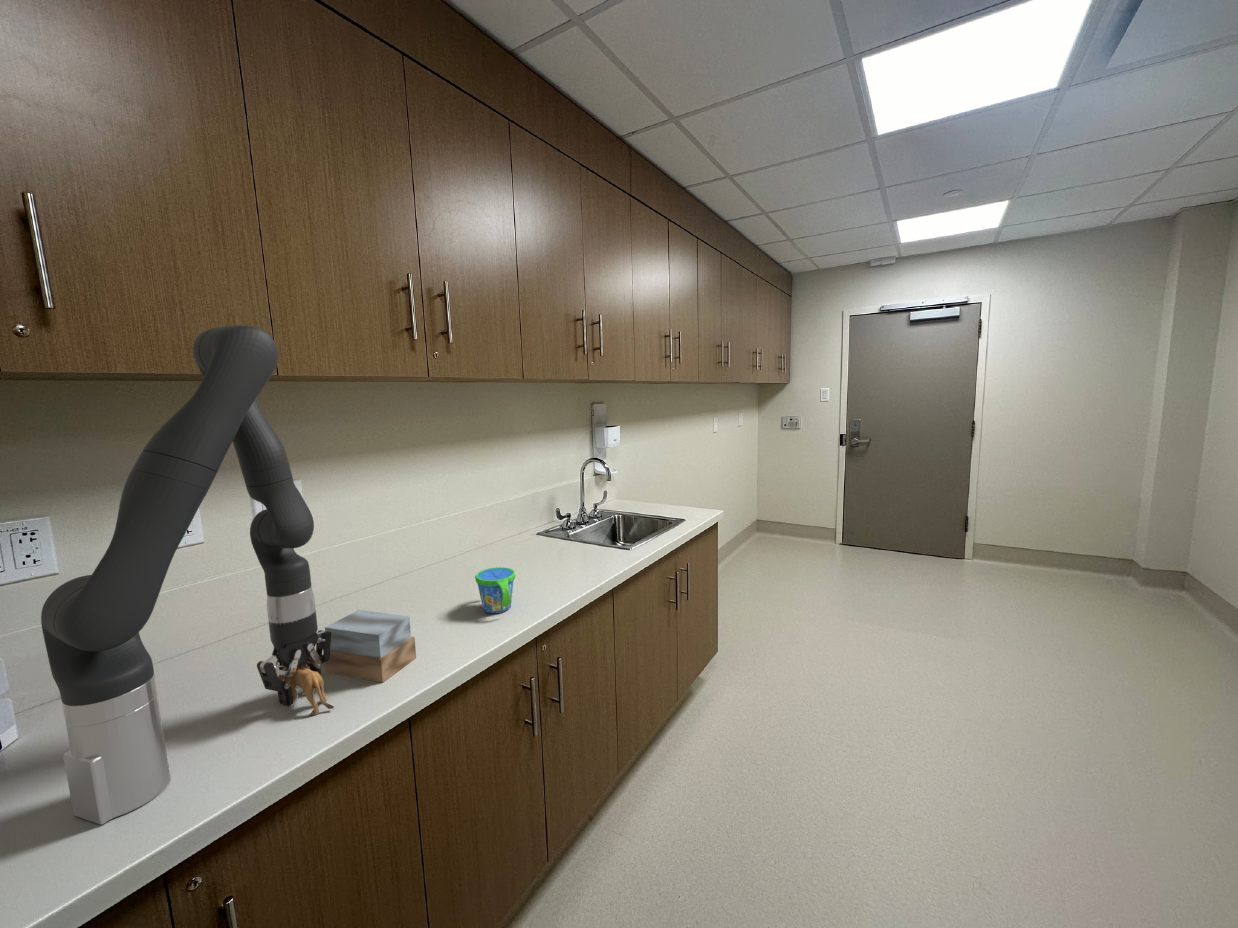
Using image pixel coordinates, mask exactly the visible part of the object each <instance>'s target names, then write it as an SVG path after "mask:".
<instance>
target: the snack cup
mask: <svg viewBox="0 0 1238 928" xmlns="http://www.w3.org/2000/svg"><path fill="white" fill-rule="evenodd" d="M516 576H517V574H516V571H515V569H512V568H511V567H510V568H509V567H505V566H503V567H501V566H499V567H497V566H496V567H490V568H486V569H482V570H480V571H478V572H477V573H476V574H475V576H474V578H475V582H476V584H477V587H478V592H479V597H480V601H481V602H480V603H481V606H482V609H483V611H485V612H486V613H488V614H500V613H504V612H506V611H508V610H509V609H510V608H512V600H513V592H514V581H515V579H516Z"/></svg>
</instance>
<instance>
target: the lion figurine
mask: <svg viewBox="0 0 1238 928" xmlns="http://www.w3.org/2000/svg"><path fill="white" fill-rule="evenodd" d="M277 664H278V662H276V666H277ZM285 669H289V667H285ZM275 670H276V669H275ZM321 676H322V674H321V675H320V674H319V673H318V672H315V671H312V670H310V668H309V667H308V666H307V665H306V663H305V662H302V663H301V664H300V665H298V666H297V668H296V673H295V674H294V675H293V676H292V681H291V685H290V686H291V687H292V695H293V703H295V702H297V701H298V699H299V695H298V693H297V687H298V688H300V689H302V690H301V695H303V696H304V695H305V697H306V700H307V701H308V702H309V704H310V705H311V707H312V709H313V710H311V716H315V715H317V714H318V713H319V712H320V709H319V706H318V703H317V701H316V700H315V698H314V690H315V691H316V693H317V696H318V698H319V702H320V703H321V704H322V705H323V706H325V708H327V709H328V710H332V709H334V705H332V704H330V703H328V702H327V701H328V699H327V697H326V694H325V689H324V687H325V684H324V683H325V682H324V679H323V676H322V677H321ZM284 678H285V675H284ZM315 687H316V689H315Z"/></svg>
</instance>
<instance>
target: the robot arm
mask: <svg viewBox="0 0 1238 928" xmlns="http://www.w3.org/2000/svg"><path fill="white" fill-rule="evenodd" d="M192 351H193V353H192V354H193V358H194V360H195V363H196V366H197V367H198V370H199V372H200V374H201V377H203V378H202V380H201V382H200V384H199V385H198V387H197V389H196V390H195V392H194V393H193V395H191V397H190V398H189V399H188V400H187V402H185V404H183V405H182V406H181V407H180V409H178V410H177V411H176V412H175V413H174V414H173V415H172V416H171V417H170V418H169V419H167V421H166V422H165V423H163V424H162V425H161V426H160V427H159V429H157V431H155V433H154V434H153V436H151V438H150V439H149V441H147V443H145V444H146V445H145V446H144V447H143V450H142V451H141V452H140V454H139V456H138V458H137V459H136V461H135V463H134V465H133V467H132V468H131V470H130V472H129V475H128V476H127V478H126V481H125V484H124V486H123V489H122V492H121V497H120V502H119V507H118V511H117V518H116V522H115V529H114V532H113V535H112V538H111V541H110V544H109V545H108V547H107V549H106V551H105V553H104V555H103V556H102V558H100V560H99V562H98V564H97V566H96V567H95V569H94V571H93V572H92V574H87V575H83V576H78V577H75V578H73V579H70V580H67V581H66V582H64V583H63V584H61V585H59V586H58V587H57V588H56V589H54V590H53V591H52V592H51V593H50V595H49V596H48V597H47V598H46V600H45V602H43V603H44V604H43V606H42V609H41V612H40V613H41V614H40V623H41V629H42V631H41V632H42V635H43V640H44V644H45V649H46V653H47V658H48V663H49V667H50V672H51V675H52V678H53V680H54V682H55V684H56V686H57V688H58V691H59V695H60V701H61V702H62V704H61V705H62V709H63V715H64V720H65V727H66V731H67V732H66V733H67V738H68V744H69V749H70V750H68V751H65V753H63V755H62V756H63V763H64V767H65V768H64V769H65V774H66V779H67V784H68V790H69V796H70V801H71V806H72V807H71V808H72V811H73V816H74V817H76V818H81V819H84V820H86V821H89V822H92V823H95V824H97V825H104V824H106V823H107V822H108V821H110V820H112V819H114V818H117V817H119V816H123V815H125V814H128V813H130V812H132V811H134V810H136V809H138V808H140V807H142V806H143V805H145V804H147V803H148V802H150V801H152V800H153V799H154V798H156V797H157V796H159V795H160V794H161V792H163V791H164V790H165V789H166V788H167V786H168V785H169V784H170V780H171V773H170V764H169V761H168V753H167V748H166V741H165V735H164V729H163V723H162V714H161V710H160V708H161V707H160V703H159V696H158V691H157V690H158V689H157V683H156V682H157V681H156V676H155V671H154V670H155V668H154V664H153V659H152V657H151V655H150V654H149V652H148V650H147V649H146V647H145V645H144V644H143V641H142V638H141V636H140V631H141V630H142V629H143V628H144V627H145V626H146V624H147V623H148V622H149V619H150V618H151V615H152V613H153V611H154V609H155V607H156V604H157V601H158V598H159V595H160V592H161V590H162V586H163V584H164V581H165V579H166V576H167V573H168V571H169V568H170V565H171V563H172V561H173V558H174V556H175V553H176V552H177V549H178V548H179V545H180V544H181V542H182V540H183V538H184V537H185V535H186V533H187V531H188V529H189V527H190V526H191V523H192V522H193V520H194V518H195V516H196V513H197V511H198V510H199V508H200V506H201V504H202V502H203V501H204V500H205V497H206V496H207V494H208V492H209V490H210V488H211V486H212V484H213V482H214V480H215V478H216V476H217V474H218V472H219V470H220V467H221V465H222V463H223V461H224V459H225V457H226V455H227V453H228V451H229V449H230V447H231V445H232V446H233V447H234V451H235V453H236V456H237V460H238V463H239V467H240V470H241V473H242V478H243V481H244V483H245V484H244V485H245V487H246V491H247V493H248V495H249V497H250V498H251V499H252V500H253V501H256V502H258V503H260V504H262V505H263V506H264V508H265V509H263V510H261V511H259V512H258V513H257V514H256V515H255V516H254V517H253V518H252V521H251V523H250V528H249V536H250V542H251V545H252V549H253V550H254V552H255V555H256V557H257V559H258V563H259V564H260V566H261V568H262V570H263V573H264V580H265V589H266V612H267V620H268V621H267V622H268V627H269V628H268V629H269V635H270V636H269V637H270V642H271V643H272V646H273V651H272V653H271V656H270V657H269V658H267V659H266V660H264V661H263V660H260V661H258V662H257V663H256V668H257V671H258V674H259V677H260V679H261V681H262V683H263V687H264V688H265V690H268V691H273V692H277V698H278V703H279V705H281V706H284V707H292V706H293V705H294V702H293V695H292V687H291V686H290V685H291V681H292V676H293V675H294V674H295V673H296V668H297V666H298V665H300V664H301V663H302V662H305V663H306V665H307V668H308V669H310V670H312V671H315V672H318V673H319V674H320V675H321V677H322V678H323V676H322V667H323V664H325V662H327V661H328V660H329V659H330V646H331V632H330V631H325V629H324V630H323V629H319V627H318V618H317V608H316V601H315V600H316V599H315V595H314V591H313V586H312V580H311V579H312V578H311V576H312V575H311V569H310V564H309V561H308V560H307V558H305V557H303V556H301V555H299V554H297V553H296V551H295V549H297V548H301V547H303V546H305V545H307V544H308V543H309V541H310V540H311V539H312V536H313V534H314V531H315V530H314V529H315V523H314V517H313V515H312V512H311V510H310V509H309V506H308V504H307V502H306V501H305V499H304V497H303V496H302V494H301V492H300V490H299V489H298V488H297V486H296V484H295V481H294V478H293V473H292V469H291V466H290V462H289V459H288V458H289V457H288V455H287V452H286V450H285V446H284V445H283V443H282V441H281V439H280V438H279V435H278V434H277V433H276V431H275V430H274V428H273V426H272V425H271V423H270V422H269V420H268V419H267V417H266V414H265V413H264V411H263V409H262V407H261V404H260V401H259V399H258V396H259V395H260V393H261V392H262V391H263V389H264V387H265V386H266V385H267V383H268V381H269V380H270V378H272V375H273V374H274V372H275V370H276V368H277V364H278V362H279V361H278V360H279V351H278V346H277V344H276V343H275V340H274V339H273V337H272V336H271V335H270V334H269V333H268V332H267V331H265V330H264V329H262V328H260V327H256V326H254V325H253V326H252V325H248V324H247V325H244V324H237V325H235V324H233V325H226V326H219V327H212V328H209V329H206V330H204V331H202V332H201V333H200V334H199V335H198V336H196V338H195V340H194V341H193V347H192ZM318 629H319V630H318ZM276 662H278V664H277V666H276ZM285 667H289V669H285ZM275 669H276V670H275ZM284 675H285V678H284ZM314 690H316V687H315V688H314Z"/></svg>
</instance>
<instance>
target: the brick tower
mask: <svg viewBox="0 0 1238 928" xmlns="http://www.w3.org/2000/svg"><path fill="white" fill-rule="evenodd" d="M324 631H330V632H331V646H330V659H329V660H328V661H327V662H324V670H325V671H324V672H325V674H332V675H335V676H336V675H337V676H342V677H346V678H347V677H349V678H355V679H359V680H366V681H370V682H371V681H372V682H378V683H382V684H383V683H385V682H386V681H387V680H389V679H390V678H391V677H393V676H394V675H395V674H397V673H398V672H399V671H400V670H402V669H404V668H405V667H407V665H409V664H410V663H412V662H413V661H415V660H416V659H417V650H416V649H417V648H416V641H415V640H416V638H415V636H412V633H411V632H412V631H411V620H410V615H408V616H407V615H402V614H393V613H386V612H378V611H368V610H363V609H362V610H361V609H358V610H356V611H354V612H352V613H349V614H347V615H346V616H344V617H342V618H339V620H337V621H335V622H332V623H331V624H329V625H326V626H324Z"/></svg>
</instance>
